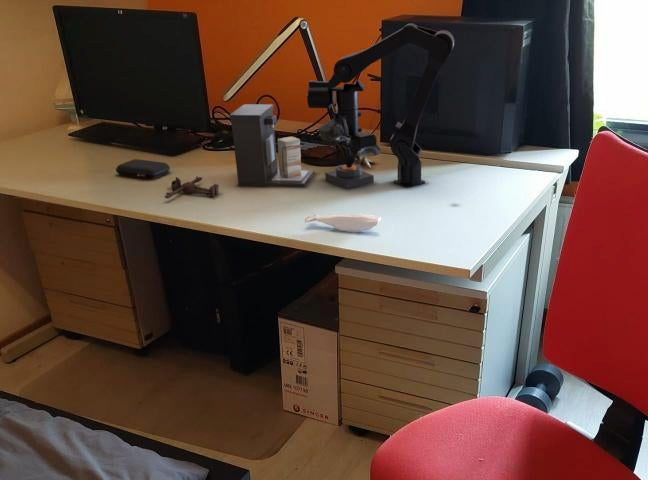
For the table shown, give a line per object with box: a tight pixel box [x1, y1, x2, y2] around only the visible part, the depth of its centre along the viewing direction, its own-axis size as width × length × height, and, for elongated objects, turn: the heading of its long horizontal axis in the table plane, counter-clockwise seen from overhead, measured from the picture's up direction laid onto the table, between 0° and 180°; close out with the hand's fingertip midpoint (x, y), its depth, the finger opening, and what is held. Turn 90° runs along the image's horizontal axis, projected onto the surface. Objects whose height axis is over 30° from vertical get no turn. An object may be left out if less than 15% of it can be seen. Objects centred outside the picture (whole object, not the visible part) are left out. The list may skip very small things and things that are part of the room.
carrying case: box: [115, 158, 171, 180], centre depth 212 cm, size 11×3×15 cm
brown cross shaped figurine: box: [164, 175, 220, 199], centre depth 195 cm, size 18×4×14 cm
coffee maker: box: [228, 103, 315, 189], centre depth 199 cm, size 19×14×19 cm
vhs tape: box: [300, 140, 335, 158], centre depth 228 cm, size 14×8×2 cm, turn 55°
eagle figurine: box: [353, 144, 382, 169], centre depth 212 cm, size 8×7×9 cm
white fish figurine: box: [304, 212, 382, 233], centre depth 169 cm, size 6×18×4 cm, turn 71°
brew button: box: [341, 165, 357, 170], centre depth 200 cm, size 4×4×2 cm
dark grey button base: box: [324, 163, 375, 190], centre depth 200 cm, size 11×9×4 cm
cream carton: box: [277, 135, 302, 178], centre depth 200 cm, size 5×4×10 cm
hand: (349, 167), depth 199 cm, fingers closed, pressing on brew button
